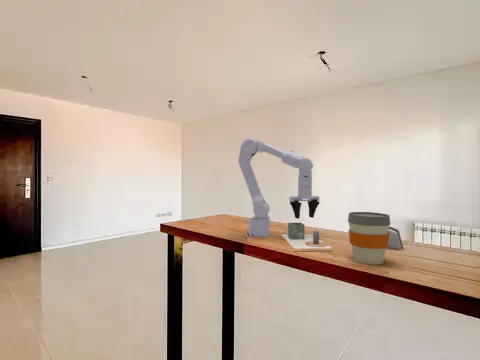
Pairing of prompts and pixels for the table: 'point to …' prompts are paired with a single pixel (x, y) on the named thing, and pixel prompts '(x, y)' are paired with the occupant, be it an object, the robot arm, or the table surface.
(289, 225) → the collar
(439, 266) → the table surface
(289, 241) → the post board
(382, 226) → the reusable coffee cup
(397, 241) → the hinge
